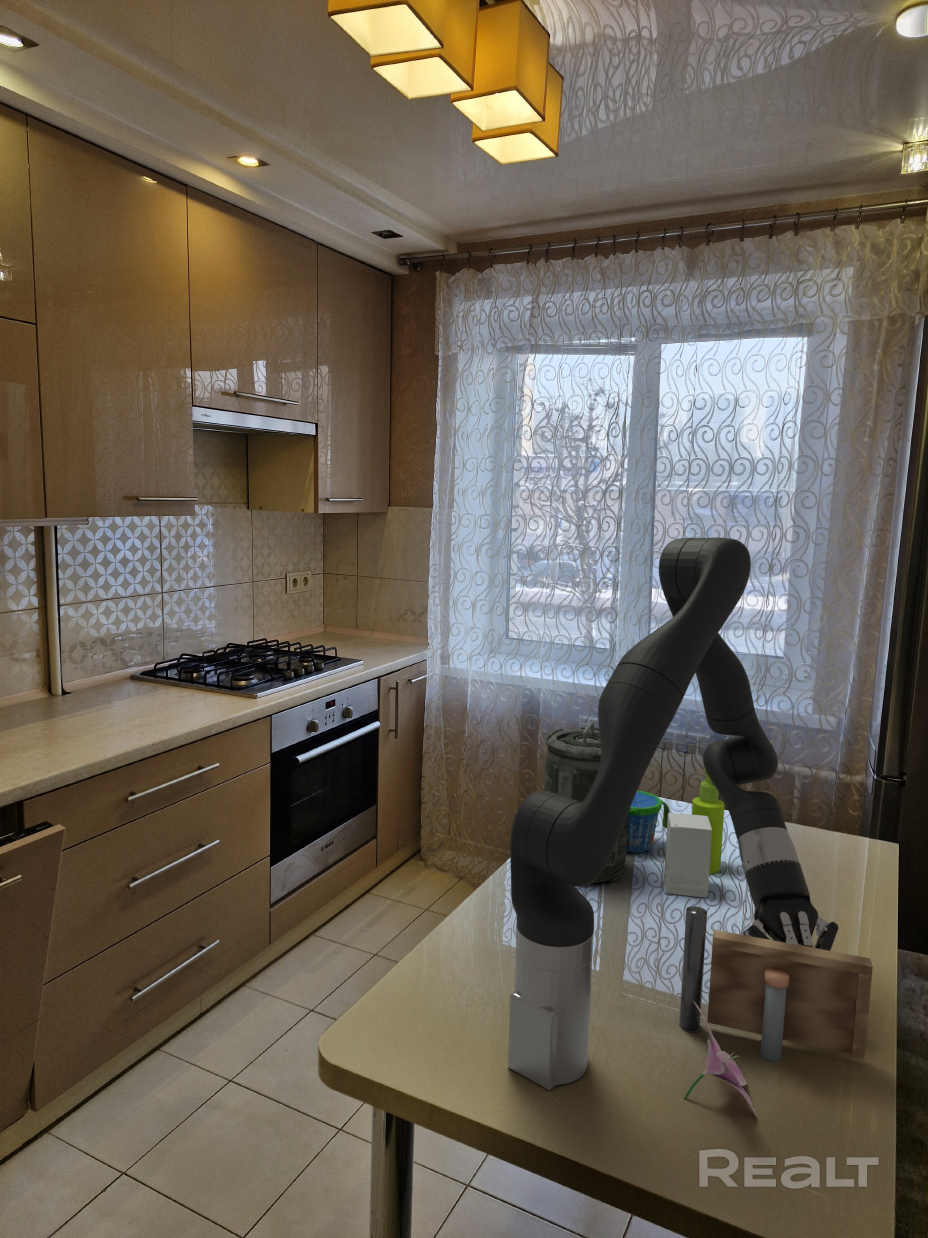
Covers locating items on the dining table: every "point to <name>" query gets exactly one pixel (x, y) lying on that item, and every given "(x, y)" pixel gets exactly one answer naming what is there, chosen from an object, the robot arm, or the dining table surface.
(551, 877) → the robot arm
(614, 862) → the canister
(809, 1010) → the gate
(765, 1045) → the stop post
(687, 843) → the supplement box
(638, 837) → the snack cup
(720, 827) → the soap dispenser
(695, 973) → the gatepost
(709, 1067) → the lily
